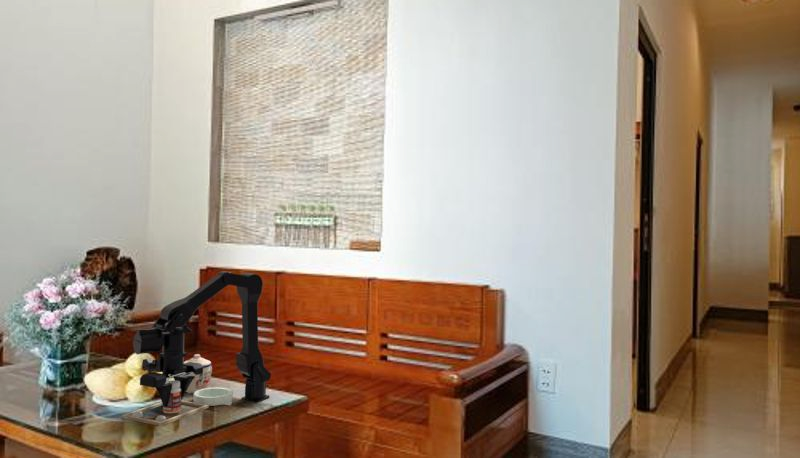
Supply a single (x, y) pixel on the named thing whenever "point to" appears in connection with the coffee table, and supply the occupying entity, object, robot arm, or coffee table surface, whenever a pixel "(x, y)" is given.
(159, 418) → the pebble
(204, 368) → the teacup with lid
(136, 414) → the pebble
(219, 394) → the bowl
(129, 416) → the tray
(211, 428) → the coffee table surface
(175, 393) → the pill bottle
